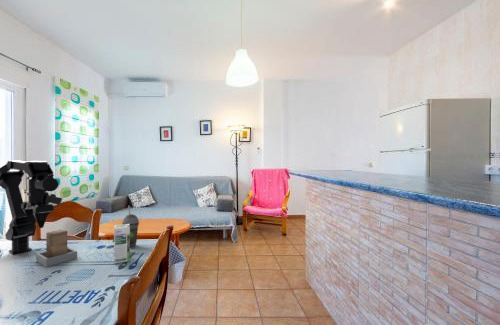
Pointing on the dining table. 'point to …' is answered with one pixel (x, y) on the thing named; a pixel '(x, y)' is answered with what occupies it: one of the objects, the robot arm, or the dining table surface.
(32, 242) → the dining table surface
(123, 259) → the syrup box
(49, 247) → the handle block
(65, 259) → the bin
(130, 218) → the beverage cup
